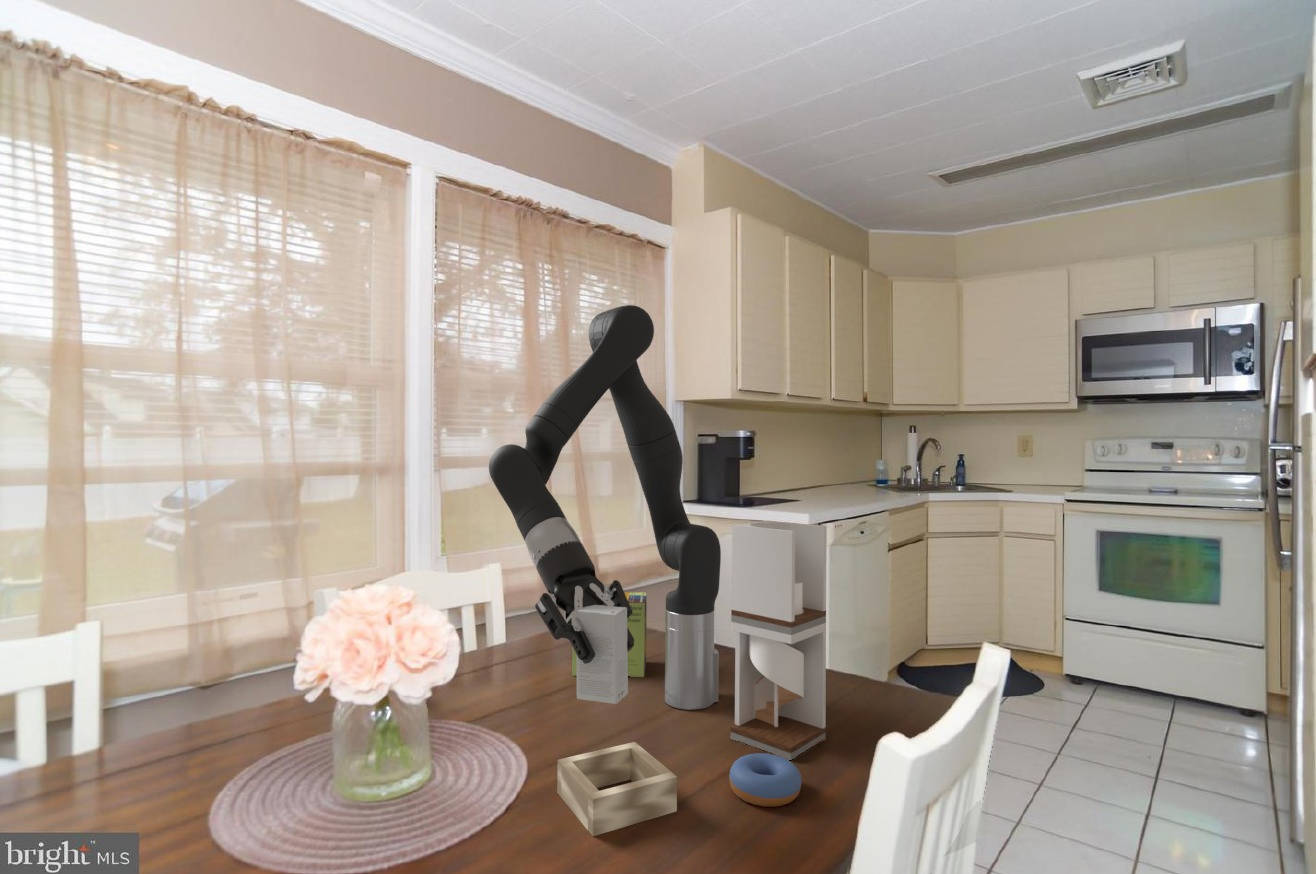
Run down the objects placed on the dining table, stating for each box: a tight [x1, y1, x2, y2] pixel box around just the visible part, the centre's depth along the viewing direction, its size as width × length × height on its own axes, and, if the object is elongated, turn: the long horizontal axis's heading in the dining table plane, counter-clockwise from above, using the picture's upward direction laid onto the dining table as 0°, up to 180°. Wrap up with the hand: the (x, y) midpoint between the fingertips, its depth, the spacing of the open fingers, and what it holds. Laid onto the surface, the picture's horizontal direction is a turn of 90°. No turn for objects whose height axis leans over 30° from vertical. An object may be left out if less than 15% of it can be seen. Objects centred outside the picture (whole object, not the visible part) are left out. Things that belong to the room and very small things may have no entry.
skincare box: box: [576, 605, 629, 705], centre depth 92 cm, size 6×4×12 cm
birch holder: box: [556, 741, 678, 837], centre depth 91 cm, size 12×12×4 cm
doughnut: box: [728, 752, 803, 808], centre depth 94 cm, size 10×10×5 cm
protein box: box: [571, 591, 648, 678], centre depth 146 cm, size 10×15×16 cm
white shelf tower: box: [730, 520, 828, 761], centre depth 111 cm, size 11×11×35 cm
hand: (610, 654), depth 91 cm, fingers closed on skincare box, 6 cm apart
